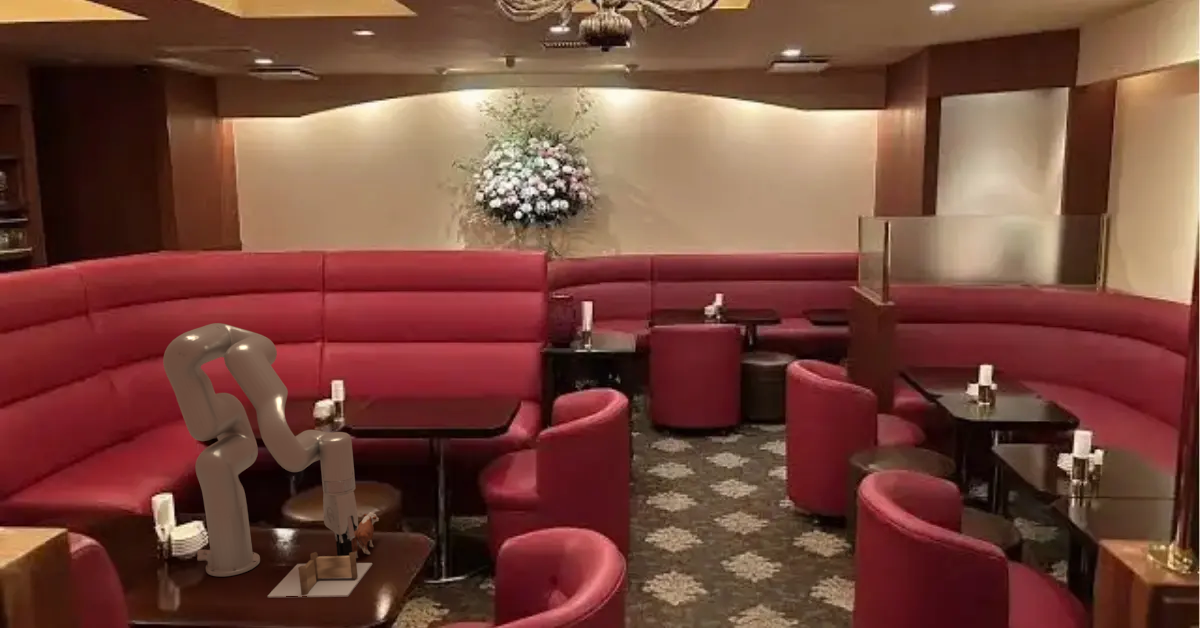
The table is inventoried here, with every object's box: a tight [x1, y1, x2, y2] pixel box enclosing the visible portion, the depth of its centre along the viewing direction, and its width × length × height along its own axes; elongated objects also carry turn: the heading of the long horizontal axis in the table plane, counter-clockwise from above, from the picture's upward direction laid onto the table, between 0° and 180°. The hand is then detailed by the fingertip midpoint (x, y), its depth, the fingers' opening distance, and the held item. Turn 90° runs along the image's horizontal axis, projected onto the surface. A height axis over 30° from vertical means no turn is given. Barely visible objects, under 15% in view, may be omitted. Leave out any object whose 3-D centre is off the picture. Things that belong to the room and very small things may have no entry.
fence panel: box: [310, 551, 358, 580], centre depth 223 cm, size 11×2×6 cm, turn 87°
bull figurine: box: [352, 511, 380, 559], centre depth 240 cm, size 4×13×8 cm, turn 174°
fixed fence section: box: [298, 559, 316, 595], centre depth 219 cm, size 2×6×6 cm, turn 175°
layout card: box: [267, 562, 373, 598], centre depth 224 cm, size 19×17×1 cm
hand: (345, 555), depth 230 cm, fingers closed
